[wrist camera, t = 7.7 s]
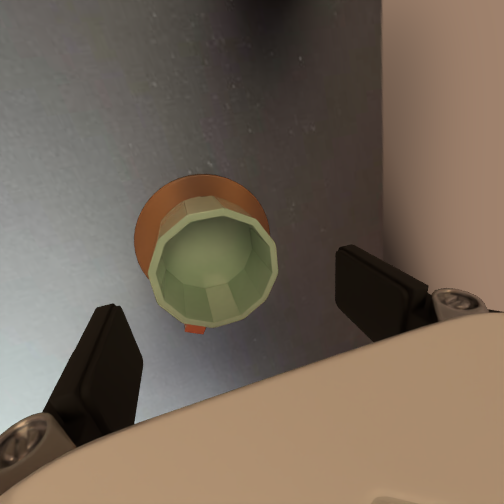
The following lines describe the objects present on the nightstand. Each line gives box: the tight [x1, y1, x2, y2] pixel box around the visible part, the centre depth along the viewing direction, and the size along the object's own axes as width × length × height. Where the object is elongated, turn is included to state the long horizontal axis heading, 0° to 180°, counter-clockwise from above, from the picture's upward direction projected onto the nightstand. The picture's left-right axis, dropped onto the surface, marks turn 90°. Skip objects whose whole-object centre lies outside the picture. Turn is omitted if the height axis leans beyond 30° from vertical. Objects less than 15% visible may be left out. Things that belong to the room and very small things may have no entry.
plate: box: [134, 174, 270, 279], centre depth 19 cm, size 10×10×1 cm
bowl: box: [148, 196, 278, 334], centre depth 17 cm, size 8×7×5 cm
